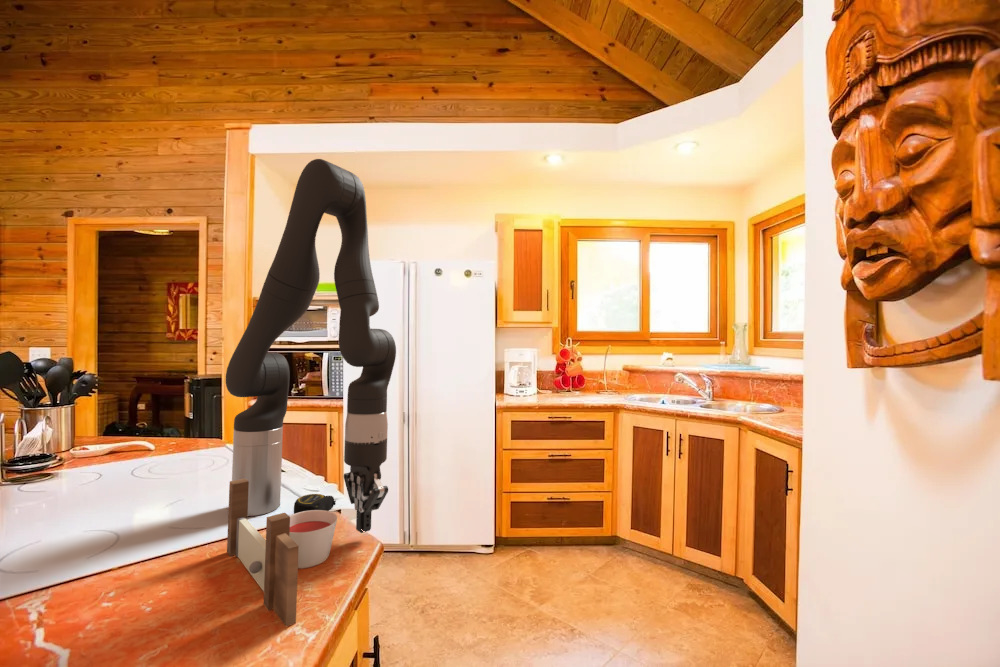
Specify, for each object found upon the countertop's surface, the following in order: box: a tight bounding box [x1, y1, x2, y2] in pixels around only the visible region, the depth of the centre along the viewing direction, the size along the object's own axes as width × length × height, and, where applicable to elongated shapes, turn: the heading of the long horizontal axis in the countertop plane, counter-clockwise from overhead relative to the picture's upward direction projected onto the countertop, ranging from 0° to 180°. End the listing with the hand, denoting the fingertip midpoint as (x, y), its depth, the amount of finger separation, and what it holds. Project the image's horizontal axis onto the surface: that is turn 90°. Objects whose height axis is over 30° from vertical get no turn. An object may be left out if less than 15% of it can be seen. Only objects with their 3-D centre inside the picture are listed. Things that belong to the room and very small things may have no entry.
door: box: [235, 518, 266, 592], centre depth 67 cm, size 15×3×6 cm, turn 45°
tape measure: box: [293, 493, 337, 514], centre depth 89 cm, size 7×7×4 cm
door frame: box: [226, 479, 299, 627], centre depth 65 cm, size 26×2×12 cm, turn 45°
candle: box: [289, 510, 338, 569], centre depth 72 cm, size 9×9×6 cm
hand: (363, 530), depth 79 cm, fingers closed
